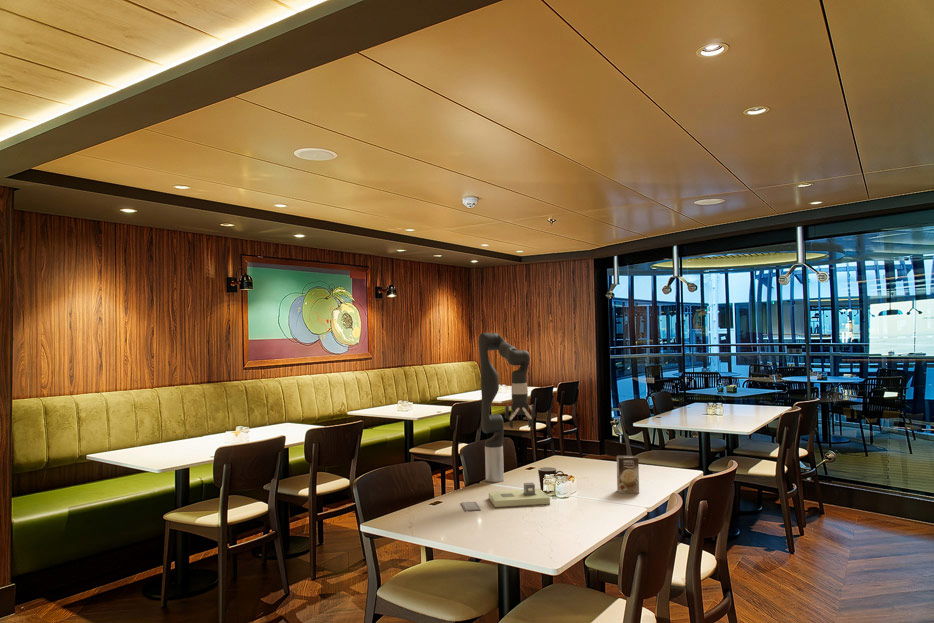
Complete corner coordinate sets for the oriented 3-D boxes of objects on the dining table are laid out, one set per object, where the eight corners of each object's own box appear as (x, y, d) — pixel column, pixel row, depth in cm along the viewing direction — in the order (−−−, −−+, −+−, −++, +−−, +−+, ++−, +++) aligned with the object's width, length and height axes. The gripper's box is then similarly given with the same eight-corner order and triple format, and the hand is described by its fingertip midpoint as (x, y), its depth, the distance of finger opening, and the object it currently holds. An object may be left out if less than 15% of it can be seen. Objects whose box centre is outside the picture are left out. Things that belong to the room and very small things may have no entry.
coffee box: (619, 493, 275) (618, 458, 276) (617, 490, 281) (616, 455, 282) (639, 493, 274) (638, 457, 275) (637, 490, 280) (636, 455, 281)
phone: (460, 504, 264) (460, 502, 264) (475, 503, 265) (475, 501, 265) (465, 513, 251) (465, 510, 251) (480, 512, 252) (480, 509, 252)
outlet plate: (488, 498, 271) (488, 491, 271) (540, 495, 274) (540, 488, 274) (495, 508, 255) (494, 500, 255) (550, 504, 258) (549, 497, 258)
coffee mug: (536, 492, 281) (536, 470, 281) (540, 487, 289) (540, 466, 289) (561, 493, 277) (560, 471, 277) (564, 489, 285) (564, 467, 286)
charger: (524, 498, 267) (523, 483, 267) (532, 498, 267) (532, 482, 268) (526, 501, 263) (525, 485, 263) (535, 500, 263) (534, 484, 264)
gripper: (532, 391, 287) (533, 426, 286) (503, 392, 285) (504, 427, 284) (536, 393, 280) (537, 428, 279) (506, 394, 278) (507, 429, 277)
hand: (520, 427), depth 282 cm, fingers open, 8 cm apart
